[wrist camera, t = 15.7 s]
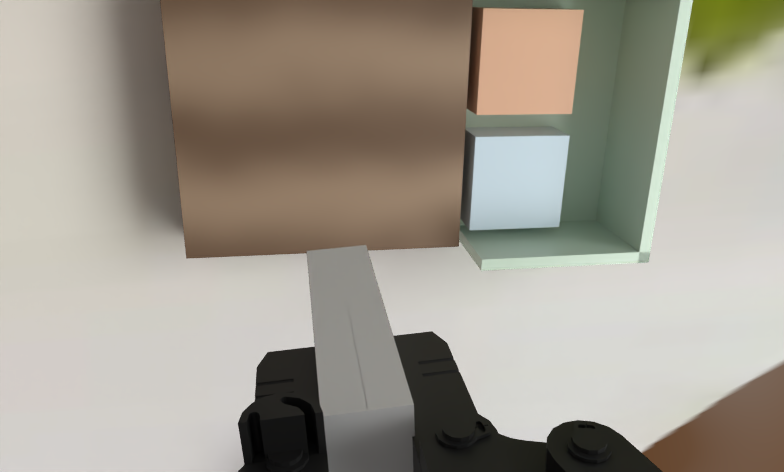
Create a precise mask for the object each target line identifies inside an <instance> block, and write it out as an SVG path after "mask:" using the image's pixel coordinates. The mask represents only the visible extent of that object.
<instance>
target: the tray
mask: <svg viewBox="0 0 784 472" xmlns="http://www.w3.org/2000/svg"><path fill="white" fill-rule="evenodd" d="M692 2H693V0H473V5H472V7H507V8H565V9H579V10H584V14H583V22H582V31H581V39H580V48H579V57H578V65H577V74H576V82H575V91H574V100H573V108H572V114H522V115H476V114H474V113H473V112H471V111H470V110H468V109H466V127H465V128H467V127H541V126H552V127H554V128H556V129H558V130H560V131H562V132H564V133H566V134H568V135H570V138H569V146H568V155H567V164H566V172H565V181H564V189H563V198H562V207H561V215H560V224H559V227H545V228H519V229H493V230H469V229H468V228H467V226H466V225H465V224H464V223H463V221H462V220H461V219H460V231H459V240H460V242H461V243H462V244H463V246H464V247H465V249H466V250H467V251H468V253H469V254H470V256H471V257H472V258H473V260H474V261H475V263H476V264H477V265H478V267H479V268H480V270H481V271H485V270H505V269H525V268H545V267H565V266H585V265H605V264H625V263H645V262H649V256H650V250H651V244H652V238H653V232H654V226H655V220H656V214H657V209H658V203H659V197H660V191H661V185H662V179H663V173H664V167H665V161H666V155H667V150H668V144H669V138H670V132H671V126H672V120H673V114H674V108H675V102H676V97H677V91H678V85H679V79H680V73H681V67H682V61H683V55H684V49H685V44H686V38H687V32H688V26H689V20H690V14H691V8H692Z"/></svg>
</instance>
